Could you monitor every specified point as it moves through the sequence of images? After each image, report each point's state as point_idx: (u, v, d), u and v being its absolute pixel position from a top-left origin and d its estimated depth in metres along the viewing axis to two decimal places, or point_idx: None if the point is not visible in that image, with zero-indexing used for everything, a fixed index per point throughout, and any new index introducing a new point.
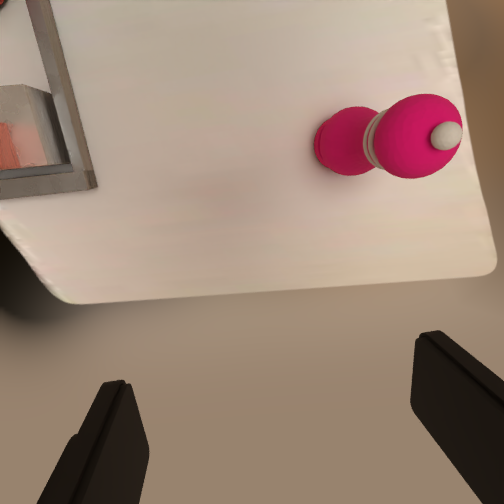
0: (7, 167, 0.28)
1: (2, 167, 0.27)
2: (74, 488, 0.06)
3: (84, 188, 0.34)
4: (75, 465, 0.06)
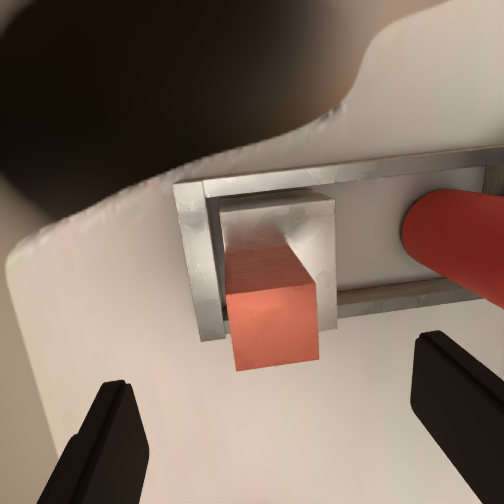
0: None
1: None
2: (74, 488, 0.06)
3: (202, 338, 0.24)
4: (75, 465, 0.06)
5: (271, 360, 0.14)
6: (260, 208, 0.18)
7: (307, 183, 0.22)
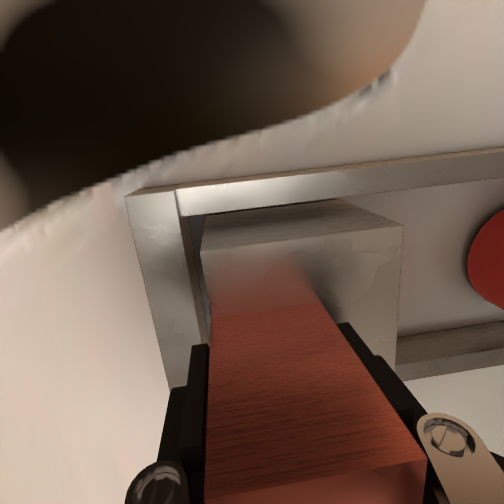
0: None
1: None
2: (203, 417, 0.07)
3: None
4: (196, 402, 0.08)
5: None
6: (273, 242, 0.10)
7: (342, 192, 0.14)
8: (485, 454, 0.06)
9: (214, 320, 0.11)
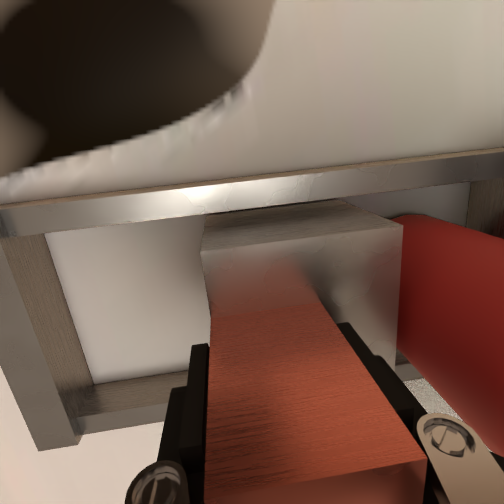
0: None
1: None
2: (203, 417, 0.07)
3: (40, 446, 0.16)
4: (196, 402, 0.08)
5: None
6: (273, 242, 0.10)
7: (183, 211, 0.13)
8: (486, 454, 0.06)
9: (214, 320, 0.11)
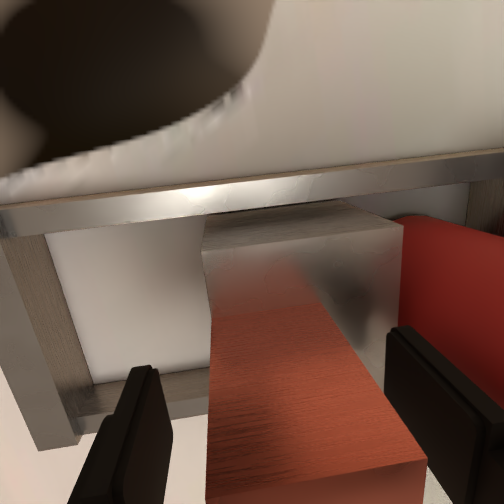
0: None
1: None
2: (118, 458, 0.07)
3: (40, 446, 0.16)
4: (116, 438, 0.07)
5: None
6: (273, 242, 0.10)
7: (183, 212, 0.13)
8: None
9: (215, 320, 0.11)
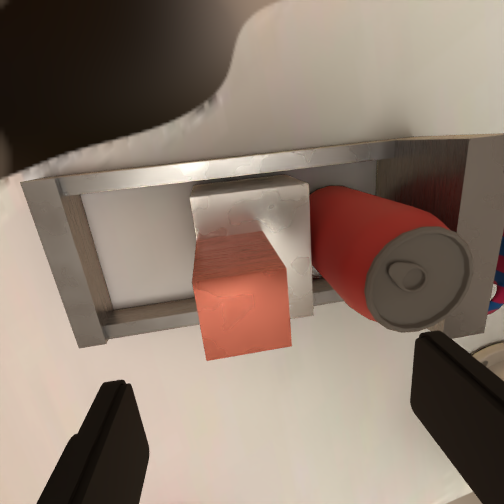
0: None
1: None
2: (74, 488, 0.06)
3: (80, 344, 0.23)
4: (75, 465, 0.06)
5: (242, 348, 0.14)
6: (232, 193, 0.18)
7: (177, 180, 0.21)
8: None
9: (198, 240, 0.18)
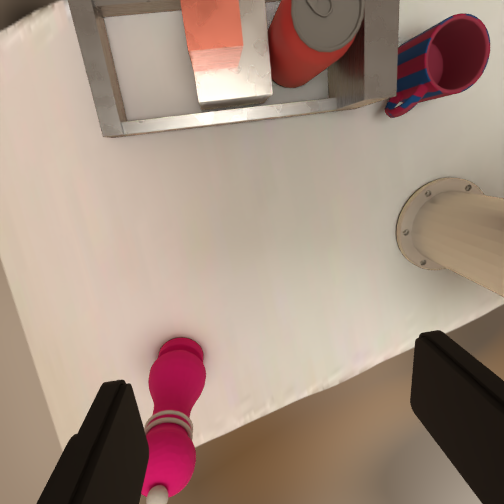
0: (193, 65, 0.26)
1: (193, 63, 0.25)
2: (74, 488, 0.06)
3: (104, 133, 0.31)
4: (75, 465, 0.06)
5: (211, 43, 0.22)
6: None
7: None
8: None
9: None
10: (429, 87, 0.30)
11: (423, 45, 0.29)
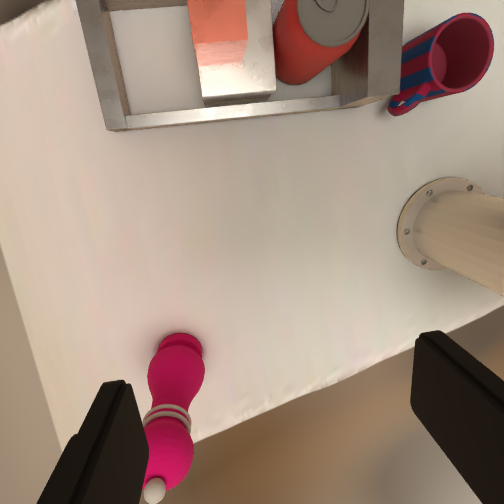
0: (198, 60, 0.26)
1: (198, 57, 0.25)
2: (74, 488, 0.06)
3: (107, 126, 0.31)
4: (75, 465, 0.06)
5: (216, 36, 0.22)
6: None
7: None
8: None
9: None
10: (432, 86, 0.30)
11: (427, 44, 0.29)
